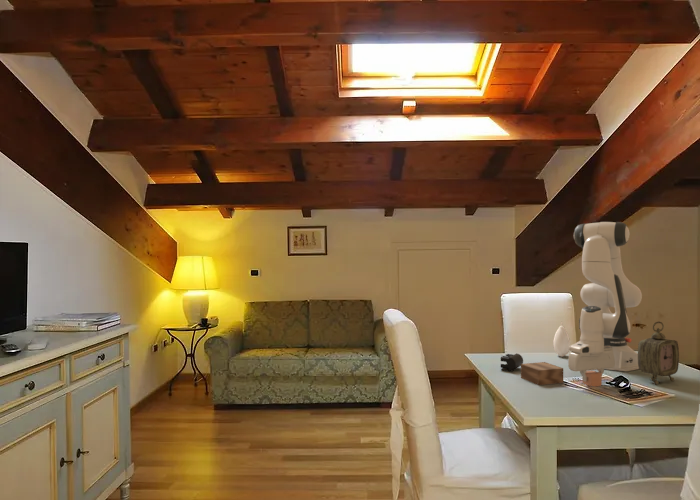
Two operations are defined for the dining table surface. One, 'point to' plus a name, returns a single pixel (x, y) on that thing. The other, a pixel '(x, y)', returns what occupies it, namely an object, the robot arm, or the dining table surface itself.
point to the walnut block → (542, 373)
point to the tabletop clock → (658, 355)
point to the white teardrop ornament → (561, 341)
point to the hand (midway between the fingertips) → (591, 380)
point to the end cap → (511, 362)
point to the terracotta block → (593, 378)
